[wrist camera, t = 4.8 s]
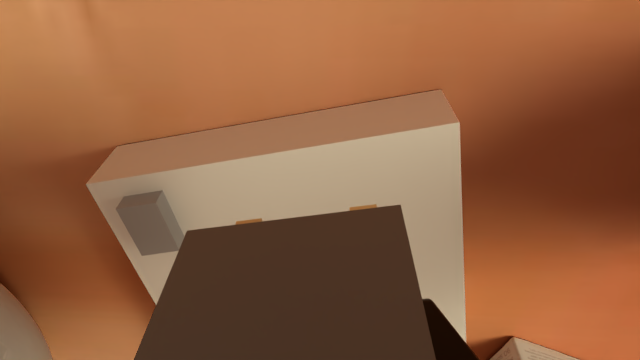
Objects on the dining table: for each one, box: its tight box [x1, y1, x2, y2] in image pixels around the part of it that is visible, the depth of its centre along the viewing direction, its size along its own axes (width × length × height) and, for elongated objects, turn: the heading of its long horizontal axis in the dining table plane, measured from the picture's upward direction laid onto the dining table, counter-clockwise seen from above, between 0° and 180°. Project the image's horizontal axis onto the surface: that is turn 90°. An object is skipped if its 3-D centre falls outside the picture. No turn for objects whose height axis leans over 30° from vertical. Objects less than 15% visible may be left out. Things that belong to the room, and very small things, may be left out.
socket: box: [86, 89, 466, 342], centre depth 21 cm, size 14×14×4 cm
